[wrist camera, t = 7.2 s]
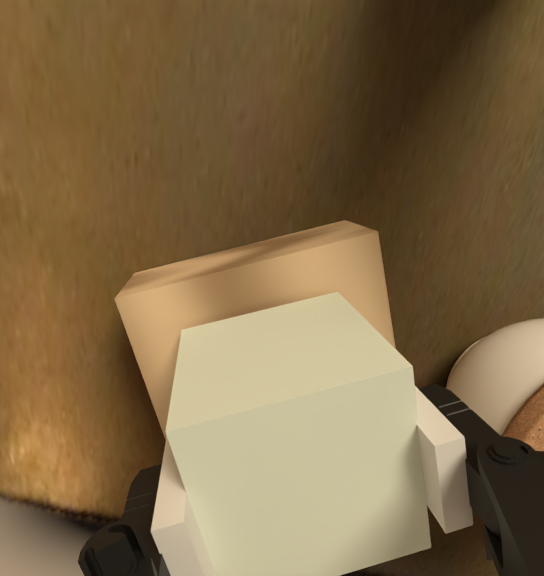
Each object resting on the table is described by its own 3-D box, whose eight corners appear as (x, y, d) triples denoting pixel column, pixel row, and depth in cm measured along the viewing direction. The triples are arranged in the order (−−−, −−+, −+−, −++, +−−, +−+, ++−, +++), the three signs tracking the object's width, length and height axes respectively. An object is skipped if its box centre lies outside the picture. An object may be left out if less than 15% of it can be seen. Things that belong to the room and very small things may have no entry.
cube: (337, 291, 15) (412, 366, 10) (358, 421, 17) (431, 547, 12) (181, 329, 15) (165, 431, 9) (220, 459, 17) (226, 609, 11)
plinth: (345, 219, 19) (377, 231, 15) (376, 400, 22) (410, 447, 18) (134, 272, 18) (114, 298, 15) (195, 452, 21) (191, 512, 18)
